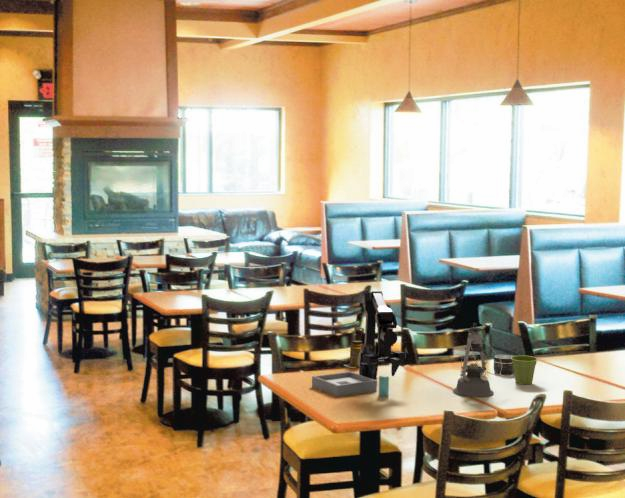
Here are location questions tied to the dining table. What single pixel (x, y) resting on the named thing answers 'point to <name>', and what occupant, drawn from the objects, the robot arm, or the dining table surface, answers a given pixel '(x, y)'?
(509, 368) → the jar
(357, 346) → the condiment
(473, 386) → the lantern
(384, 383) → the peg
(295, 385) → the dining table surface
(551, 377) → the dining table surface
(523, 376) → the plant pot
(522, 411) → the dining table surface
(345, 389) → the box
